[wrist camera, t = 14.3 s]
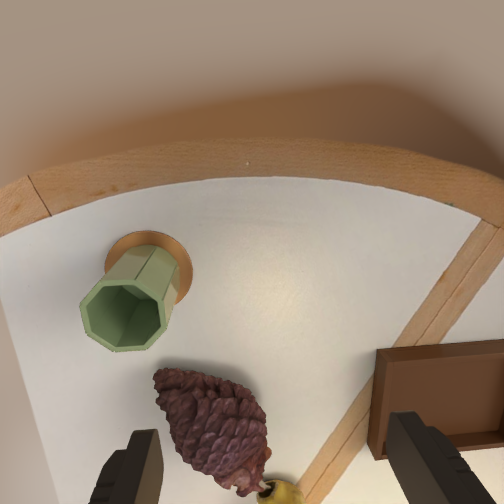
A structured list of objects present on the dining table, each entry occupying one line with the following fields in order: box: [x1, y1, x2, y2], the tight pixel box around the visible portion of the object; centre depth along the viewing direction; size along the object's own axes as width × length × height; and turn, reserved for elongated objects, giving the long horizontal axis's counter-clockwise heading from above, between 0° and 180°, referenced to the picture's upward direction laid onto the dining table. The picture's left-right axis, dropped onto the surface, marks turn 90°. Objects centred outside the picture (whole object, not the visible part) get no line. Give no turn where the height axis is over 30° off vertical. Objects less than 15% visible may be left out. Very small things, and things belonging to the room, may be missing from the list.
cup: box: [79, 245, 180, 352], centre depth 29 cm, size 6×6×9 cm
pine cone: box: [153, 368, 272, 497], centre depth 36 cm, size 18×10×10 cm
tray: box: [367, 339, 504, 461], centre depth 42 cm, size 20×16×3 cm
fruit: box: [257, 479, 306, 504], centre depth 44 cm, size 6×6×10 cm
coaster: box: [105, 231, 193, 305], centre depth 34 cm, size 9×9×1 cm
